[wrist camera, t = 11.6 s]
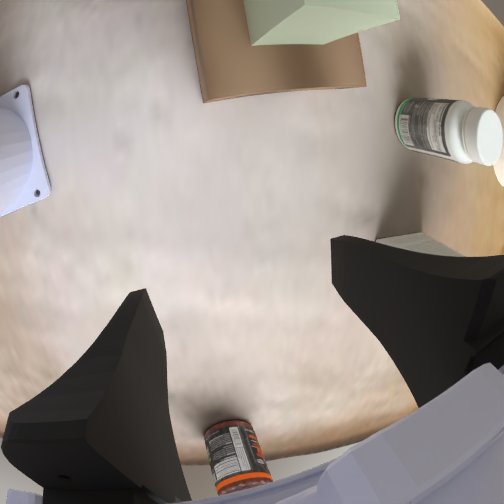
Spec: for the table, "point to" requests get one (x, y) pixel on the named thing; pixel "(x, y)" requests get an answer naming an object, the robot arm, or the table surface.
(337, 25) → the sage block
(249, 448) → the supplement bottle
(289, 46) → the walnut base
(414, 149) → the pill bottle
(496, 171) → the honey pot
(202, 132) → the table surface
